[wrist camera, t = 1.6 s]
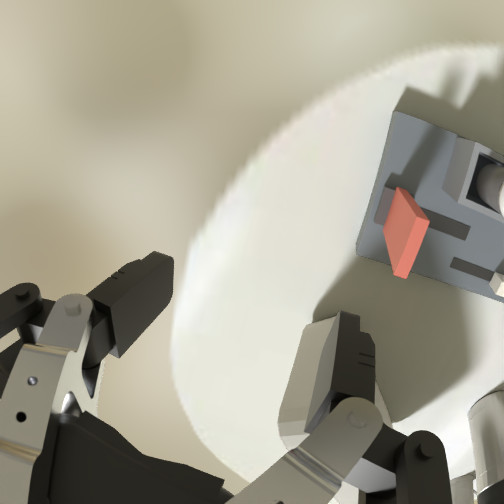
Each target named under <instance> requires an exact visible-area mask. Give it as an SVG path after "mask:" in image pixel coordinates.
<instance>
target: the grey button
mask: <svg viewBox="0 0 504 504" xmlns="http://www.w3.org/2000/svg"><path fill="white" fill-rule="evenodd" d="M476 188H477V192H478V195H479V196H480V198H481V199H482V200H483V201H484V202H485V203H487V204H488V205H490V206H491V207H492V208H494V209H495V210H496V211H497V212H499V213H500V214H501V215H502V216H503V217H504V168H503V167H501V166H498V165H496V164H488V165H486V166H484V167H483V168H482V169H481V170H480V172H479V174H478V176H477V180H476Z"/></svg>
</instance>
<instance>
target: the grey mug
mask: <svg viewBox="0 0 504 504" xmlns="http://www.w3.org/2000/svg"><path fill="white" fill-rule="evenodd" d="M473 479H474V476H473V475H464V476H460V477H457V478H455V479H452V480H450V486H451V494H452V503H453V504H474V495H473V493H475V494H476V495H477V492H476V491H475V490H473Z"/></svg>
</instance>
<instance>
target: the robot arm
mask: <svg viewBox="0 0 504 504" xmlns="http://www.w3.org/2000/svg"><path fill="white" fill-rule="evenodd" d="M173 274H174V260H173V258H172V257H171V256H168V255H165V254H162V253H159V252H156V251H153V252H152V253H150V254H149V255H148V256H146V257H145V258H144V259H142V260H140V259H138V260H135V261H133V262H130V263H127V264H126V265H124V266H123V267H122V268H120V269H119V270H118V272H115V273H114V274H113V275H111V277H108V278H107V279H106V280H105V281H103V282H102V283H101V284H99V285H98V286H97V287H96V288H94V289H93V290H92V291H91V292H89V293H88V294H87V295H82V294H69V295H66V296H63V297H62V298H60V299H59V300H57V301H51V300H47V299H43V298H41V294H40V290H39V288H38V286H37V285H35V284H33V283H21V284H18V285H16V286H14V287H12V288H10V289H9V290H7V291H5V292H4V293H2V294H0V338H2V337H3V336H5V335H6V334H8V333H9V332H11V331H12V330H14V329H15V328H17V331H18V333H19V336H20V339H19V340H18V341H16V342H15V343H13V344H12V345H11V346H9V347H8V348H7V349H5V350H4V351H2V352H1V353H0V399H1V400H0V504H328V502H329V501H330V500H331V499H332V498H333V497H334V496H335V494H336V493H337V492H338V491H339V489H340V488H341V486H342V484H341V483H342V482H343V481H344V482H346V483H348V484H350V485H352V486H354V487H356V488H358V489H359V490H358V504H453V503H452V494H451V486H450V479H449V472H448V465H447V459H446V454H445V449H444V446H443V443H442V442H441V440H440V439H439V438H438V437H437V436H436V435H435V434H433V433H431V432H429V431H424V430H420V431H416V432H413V433H412V434H411V435H409V436H406V435H404V434H402V433H400V432H398V431H396V430H394V429H392V428H390V427H389V426H387V425H386V424H385V423H384V422H383V419H382V415H381V413H380V411H379V409H378V408H377V407H376V406H375V344H374V342H373V340H372V338H371V336H370V334H368V333H364V332H361V331H360V316H358V315H354V314H351V313H347V312H344V311H340V310H339V312H338V313H337V316H336V318H335V320H334V323H333V325H332V327H331V330H330V332H329V334H328V337H327V339H326V341H325V344H324V346H323V349H322V352H321V356H320V360H319V366H318V370H317V375H316V380H315V385H314V389H313V394H312V399H311V403H310V407H309V412H308V416H307V420H306V424H305V428H304V432H305V433H309V434H310V435H309V436H308V437H307V438H306V439H305V440H304V441H303V442H301V443H300V444H299V445H298V446H297V447H296V448H295V449H291V450H290V451H289V452H287V453H286V454H285V455H284V456H283V457H282V458H280V459H279V460H278V461H277V462H276V463H275V464H274V465H272V466H271V467H270V468H269V469H268V470H267V471H265V472H264V473H263V474H262V475H261V476H259V477H258V478H257V479H256V480H255V481H253V482H252V483H251V484H250V485H248V486H247V487H246V488H245V489H244V490H242V491H241V492H240V493H238V494H237V495H235V496H234V495H233V494H232V493H230V492H229V491H227V490H226V489H224V488H223V487H222V486H223V484H224V479H221V478H218V477H216V476H213V475H210V474H208V473H205V472H203V471H200V470H197V469H195V468H193V467H190V466H188V465H185V464H180V463H175V462H171V461H166V460H162V459H157V458H154V457H149V456H146V455H144V454H142V453H141V452H139V451H138V450H137V449H136V448H135V447H134V446H133V445H132V444H131V443H129V442H128V441H127V440H126V439H125V438H124V437H123V436H122V435H121V434H120V433H119V432H118V431H117V430H116V429H115V428H113V427H111V426H110V425H108V424H106V423H105V422H103V421H102V420H100V419H98V413H97V402H98V396H99V392H100V386H101V381H102V376H103V371H104V366H105V360H104V357H105V356H106V355H107V354H108V353H110V354H111V355H113V356H115V357H117V358H120V357H121V356H122V355H123V354H124V353H125V352H126V351H127V349H128V348H129V347H130V346H131V345H132V344H133V343H134V342H135V341H136V340H137V338H138V337H139V336H140V335H141V334H142V333H143V332H144V330H145V329H146V328H147V327H148V326H149V325H150V324H151V323H152V322H153V321H154V320H155V319H156V317H157V316H158V315H159V314H160V313H161V312H162V311H163V310H164V309H165V308H166V306H167V305H168V304H169V302H170V300H171V298H172V294H173ZM468 419H469V425H470V431H471V438H472V445H473V452H474V461H475V471H476V482H477V500H478V504H504V391H498V392H495V393H492V394H489V395H487V396H485V397H484V398H482V399H481V400H479V401H478V402H477V403H476V404H475V405H474V406H473V407H472V408H471V409H470V411H469V414H468Z"/></svg>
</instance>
